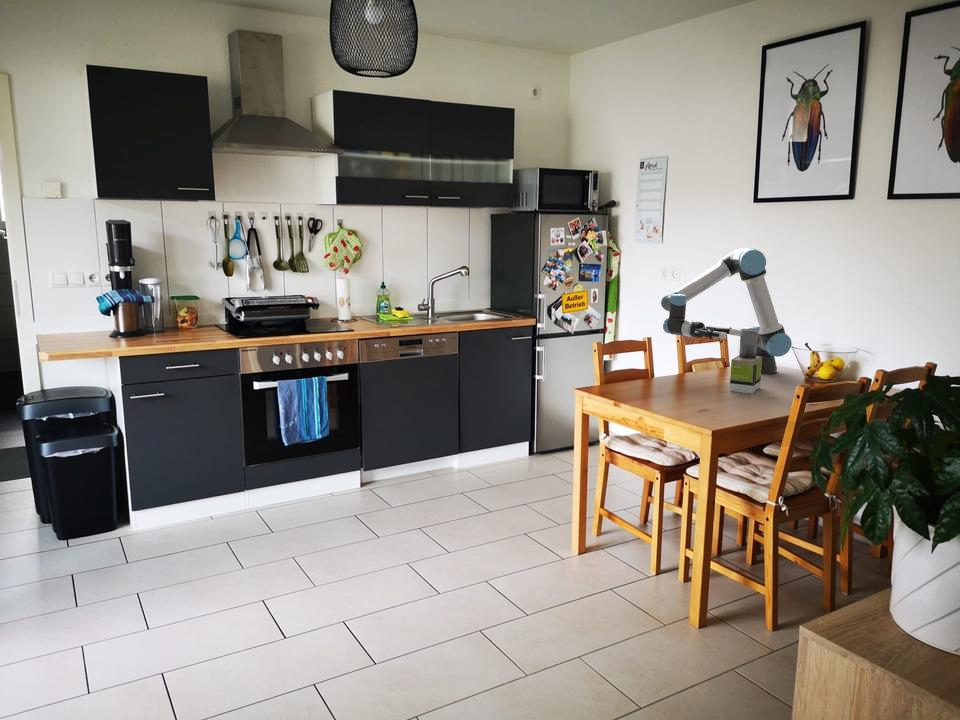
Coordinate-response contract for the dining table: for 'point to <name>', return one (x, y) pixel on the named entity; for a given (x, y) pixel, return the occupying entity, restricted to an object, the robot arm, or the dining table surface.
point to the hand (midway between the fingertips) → (734, 334)
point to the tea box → (745, 374)
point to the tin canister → (748, 342)
